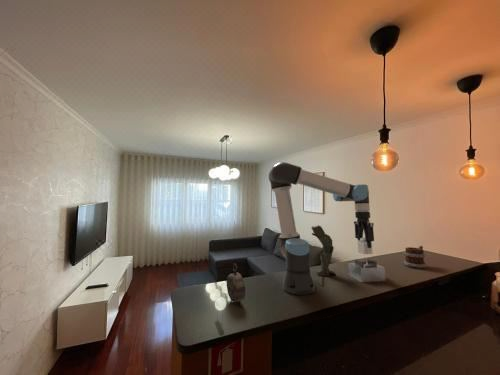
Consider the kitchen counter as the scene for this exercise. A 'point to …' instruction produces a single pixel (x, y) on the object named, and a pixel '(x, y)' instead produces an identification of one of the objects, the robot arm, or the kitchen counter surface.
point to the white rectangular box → (366, 271)
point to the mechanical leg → (324, 251)
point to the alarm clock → (235, 287)
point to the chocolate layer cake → (415, 258)
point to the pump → (363, 246)
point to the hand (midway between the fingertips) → (365, 252)
